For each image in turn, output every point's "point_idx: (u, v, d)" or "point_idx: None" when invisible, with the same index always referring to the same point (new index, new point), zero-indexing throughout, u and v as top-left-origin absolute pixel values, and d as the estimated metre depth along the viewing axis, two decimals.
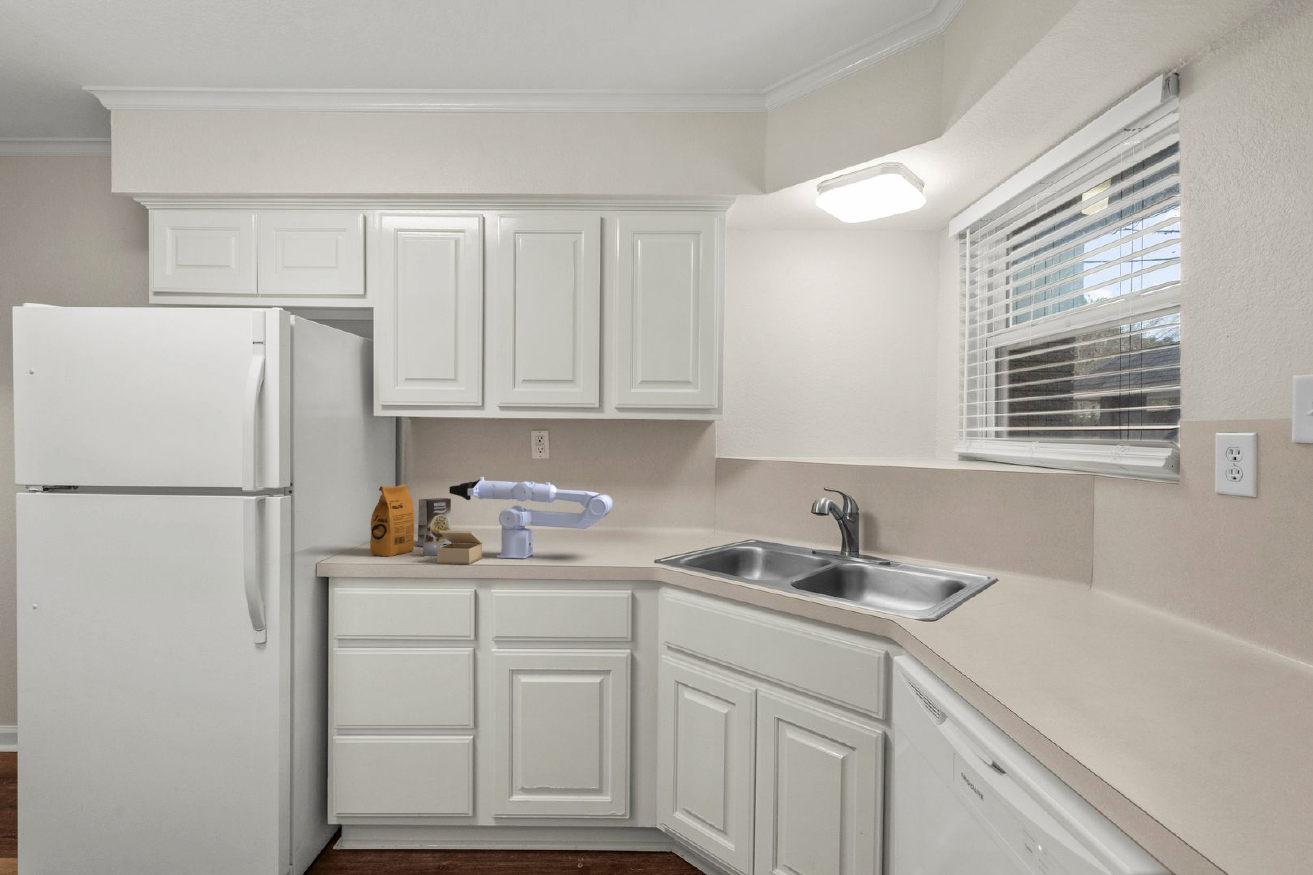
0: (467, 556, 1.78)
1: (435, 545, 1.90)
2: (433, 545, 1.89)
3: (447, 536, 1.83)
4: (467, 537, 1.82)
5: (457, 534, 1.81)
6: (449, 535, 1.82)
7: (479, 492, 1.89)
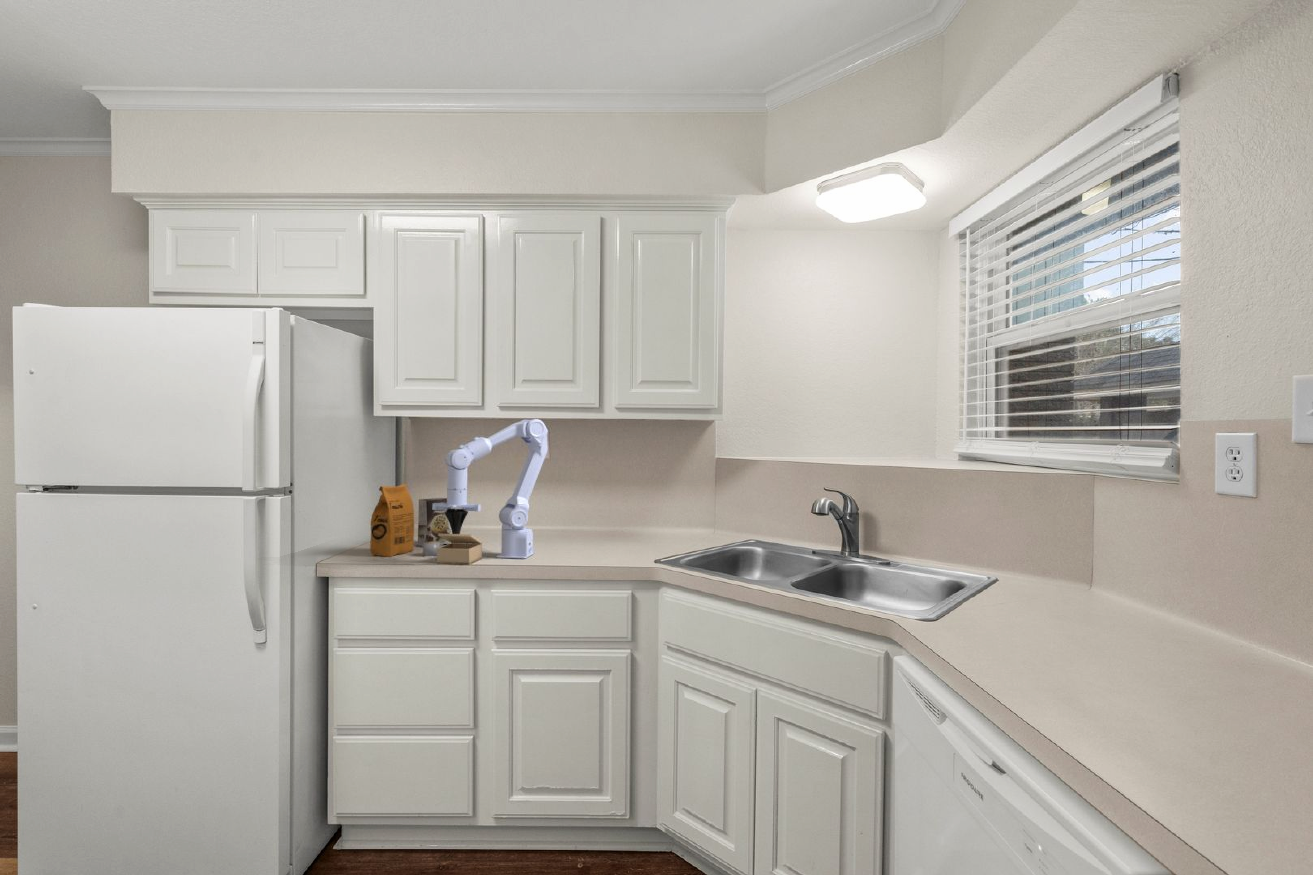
0: (467, 556, 1.78)
1: (435, 545, 1.90)
2: (433, 545, 1.89)
3: (447, 538, 1.82)
4: (467, 539, 1.82)
5: (456, 537, 1.80)
6: (448, 537, 1.82)
7: (466, 503, 1.81)
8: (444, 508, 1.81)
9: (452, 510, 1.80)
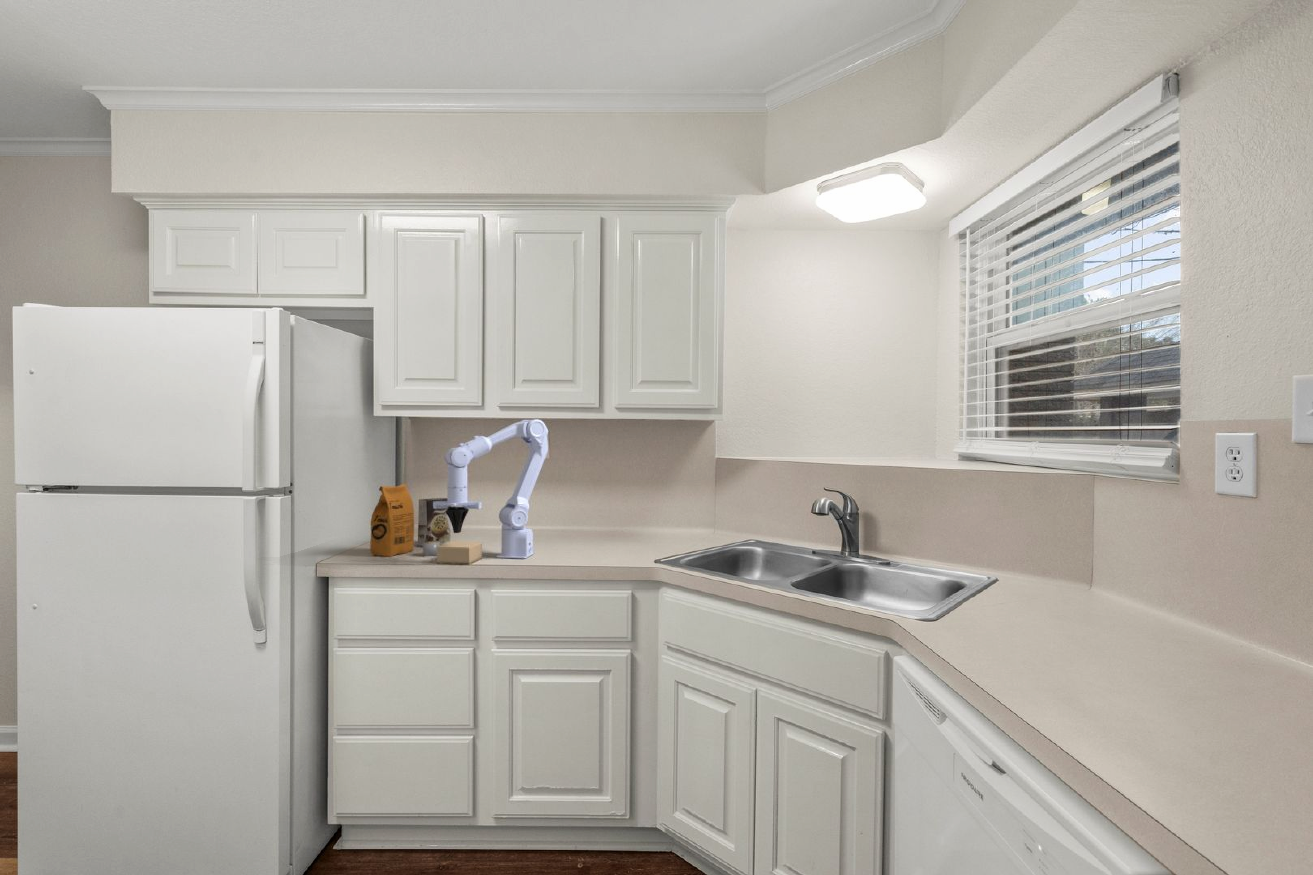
0: (467, 556, 1.78)
1: (435, 545, 1.90)
2: (433, 545, 1.89)
3: None
4: None
5: None
6: None
7: (467, 501, 1.81)
8: (445, 506, 1.81)
9: (453, 508, 1.80)
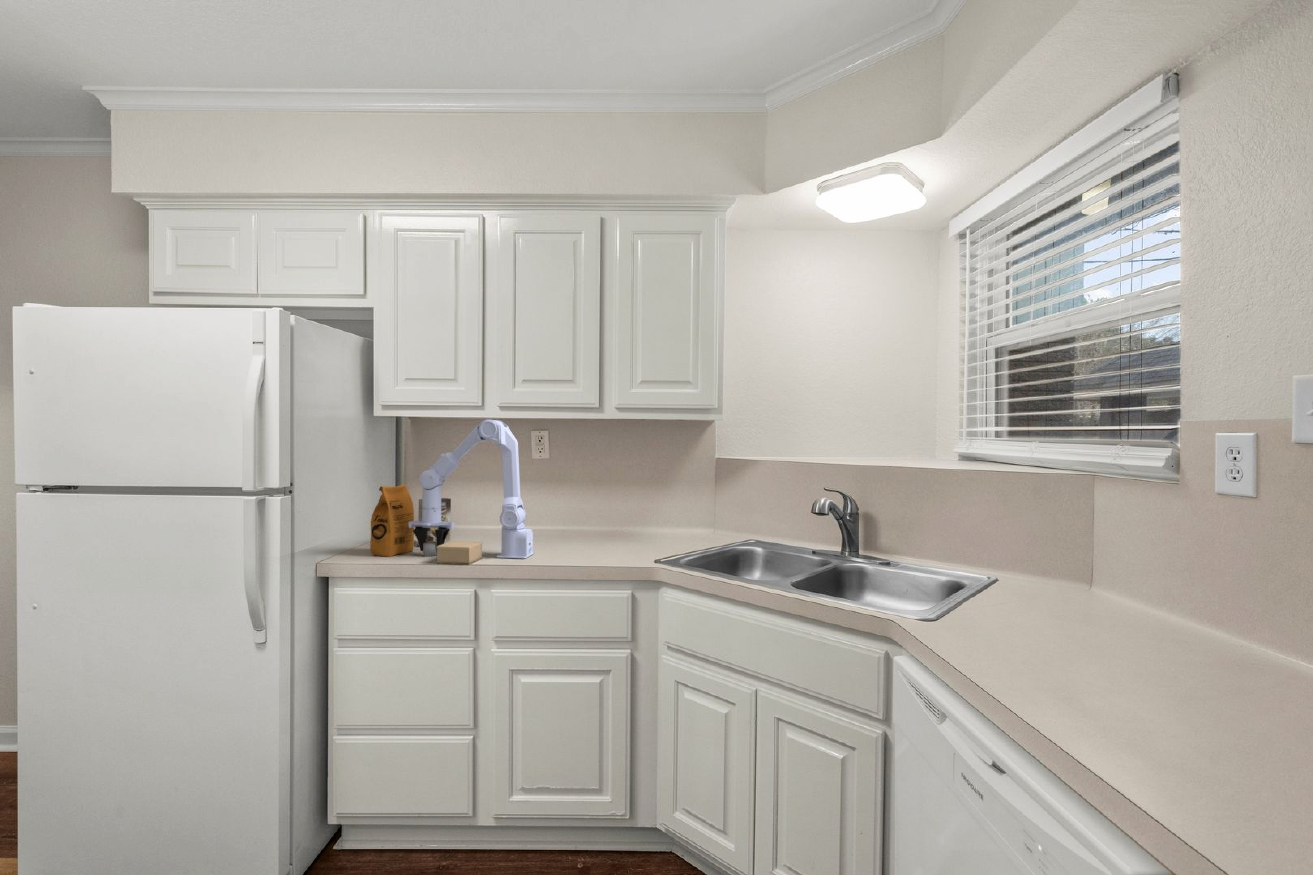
0: (467, 556, 1.78)
1: (436, 545, 1.90)
2: (435, 545, 1.90)
3: None
4: None
5: None
6: None
7: (440, 521, 1.92)
8: (420, 526, 1.92)
9: (427, 528, 1.91)
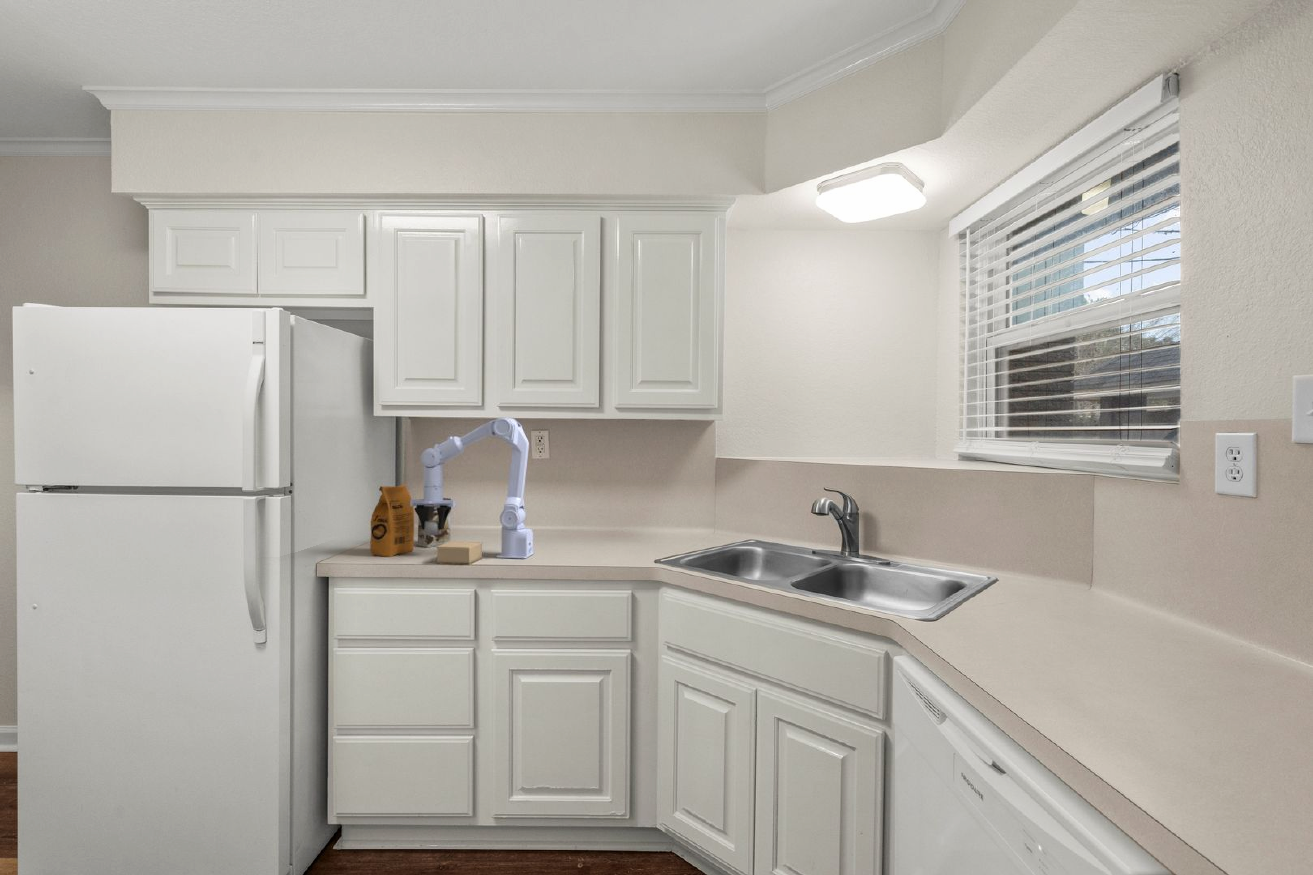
0: (467, 556, 1.78)
1: None
2: (436, 523, 1.89)
3: None
4: None
5: None
6: None
7: (442, 499, 1.91)
8: (421, 504, 1.91)
9: (429, 506, 1.90)
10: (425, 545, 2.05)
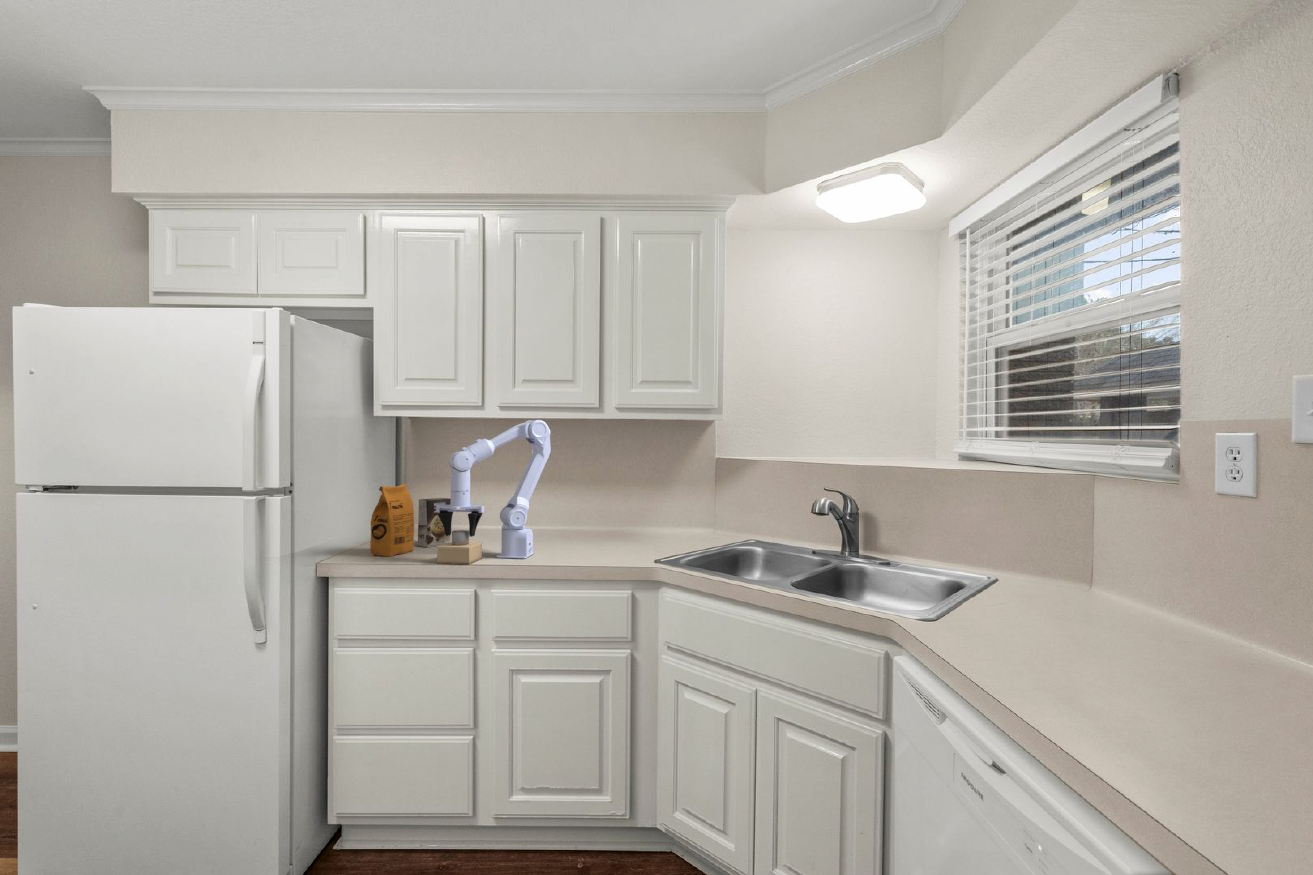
0: (467, 556, 1.78)
1: (466, 533, 1.82)
2: (464, 533, 1.81)
3: None
4: None
5: None
6: None
7: (470, 505, 1.83)
8: (448, 510, 1.83)
9: None
10: (425, 545, 2.05)
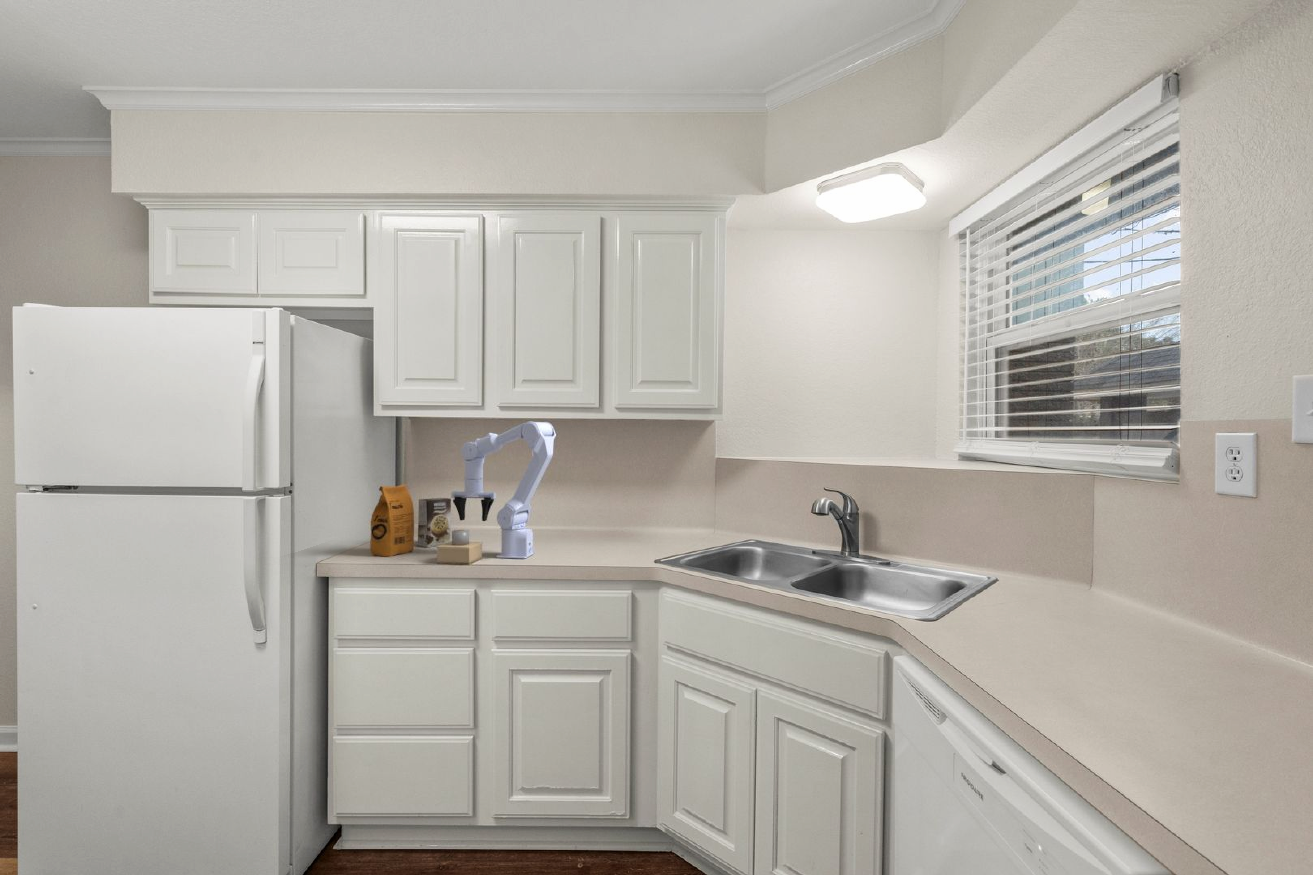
0: (467, 556, 1.78)
1: (466, 533, 1.82)
2: (465, 533, 1.81)
3: None
4: None
5: None
6: None
7: (482, 492, 1.97)
8: (462, 496, 1.97)
9: None
10: (425, 545, 2.05)
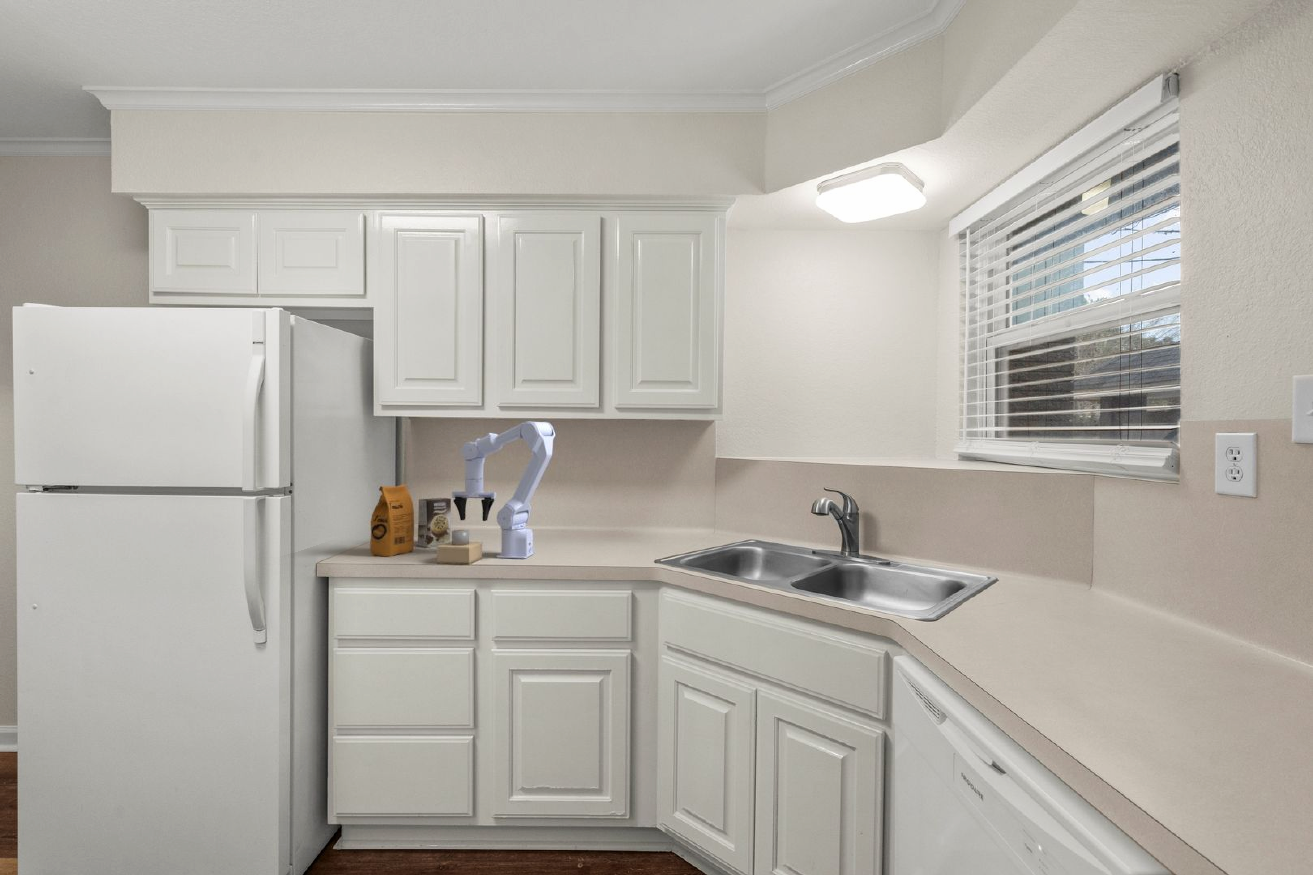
0: (467, 556, 1.78)
1: (466, 533, 1.82)
2: (465, 533, 1.81)
3: None
4: None
5: None
6: None
7: (483, 492, 1.97)
8: (462, 496, 1.97)
9: None
10: (425, 545, 2.05)
